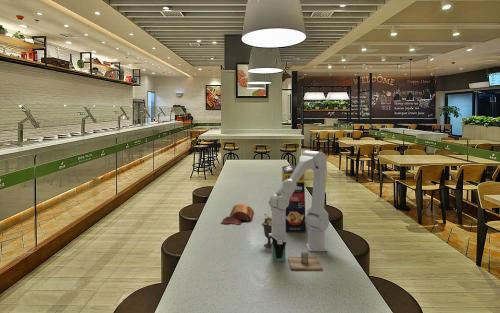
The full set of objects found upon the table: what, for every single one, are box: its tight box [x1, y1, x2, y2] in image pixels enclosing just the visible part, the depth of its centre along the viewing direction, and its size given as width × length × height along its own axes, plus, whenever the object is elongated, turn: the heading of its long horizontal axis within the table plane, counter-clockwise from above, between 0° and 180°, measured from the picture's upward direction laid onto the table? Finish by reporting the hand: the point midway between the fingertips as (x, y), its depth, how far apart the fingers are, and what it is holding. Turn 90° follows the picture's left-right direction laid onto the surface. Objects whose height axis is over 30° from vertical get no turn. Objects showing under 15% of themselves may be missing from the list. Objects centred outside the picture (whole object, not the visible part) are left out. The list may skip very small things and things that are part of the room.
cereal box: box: [281, 164, 307, 233], centre depth 201 cm, size 27×11×32 cm, turn 177°
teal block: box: [271, 243, 286, 262], centre depth 154 cm, size 5×5×6 cm
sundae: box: [261, 213, 272, 249], centre depth 169 cm, size 7×7×15 cm
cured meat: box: [220, 203, 255, 226], centre depth 215 cm, size 18×25×7 cm
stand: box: [287, 250, 324, 272], centre depth 148 cm, size 12×12×5 cm
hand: (278, 255), depth 154 cm, fingers closed on teal block, 5 cm apart
